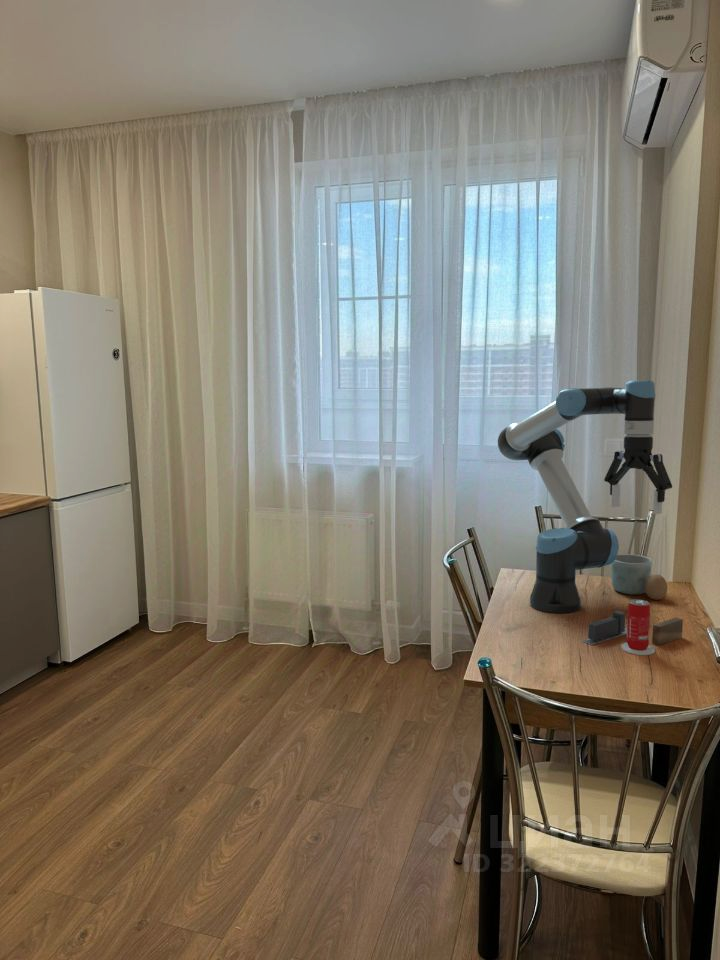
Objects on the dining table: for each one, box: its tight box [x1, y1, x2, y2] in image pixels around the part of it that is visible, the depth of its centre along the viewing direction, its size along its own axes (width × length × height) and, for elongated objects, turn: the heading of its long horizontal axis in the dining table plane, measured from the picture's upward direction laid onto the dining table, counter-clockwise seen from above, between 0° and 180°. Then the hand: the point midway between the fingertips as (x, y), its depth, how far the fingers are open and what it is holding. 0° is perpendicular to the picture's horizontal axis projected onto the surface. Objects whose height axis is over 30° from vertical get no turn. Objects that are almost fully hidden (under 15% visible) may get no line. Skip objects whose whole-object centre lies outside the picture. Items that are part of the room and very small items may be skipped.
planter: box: [610, 553, 653, 596], centre depth 218 cm, size 12×12×11 cm
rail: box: [581, 624, 652, 646], centre depth 181 cm, size 3×25×1 cm, turn 122°
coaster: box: [621, 641, 656, 656], centre depth 170 cm, size 8×8×1 cm
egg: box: [645, 573, 668, 601], centre depth 209 cm, size 6×6×8 cm
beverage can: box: [626, 598, 651, 651], centre depth 170 cm, size 5×5×12 cm
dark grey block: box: [587, 610, 626, 641], centre depth 178 cm, size 3×12×5 cm, turn 122°
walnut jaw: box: [651, 617, 684, 646], centre depth 175 cm, size 2×10×5 cm, turn 122°
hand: (635, 510), depth 190 cm, fingers open, 13 cm apart
